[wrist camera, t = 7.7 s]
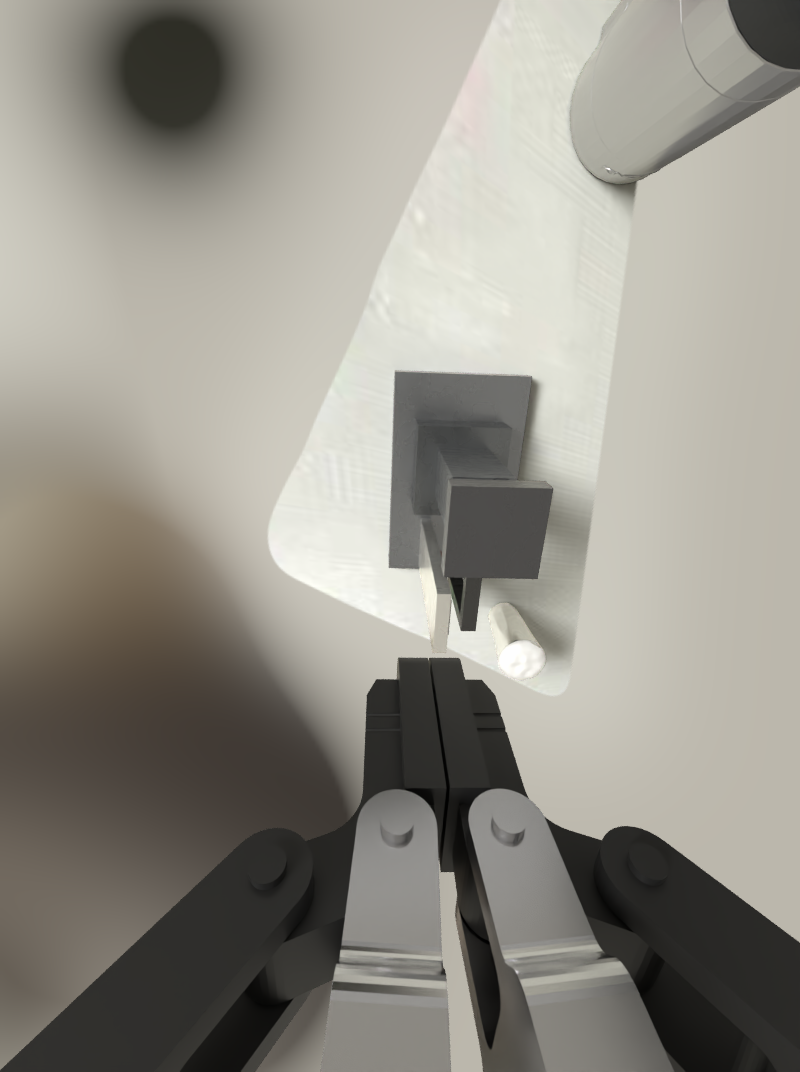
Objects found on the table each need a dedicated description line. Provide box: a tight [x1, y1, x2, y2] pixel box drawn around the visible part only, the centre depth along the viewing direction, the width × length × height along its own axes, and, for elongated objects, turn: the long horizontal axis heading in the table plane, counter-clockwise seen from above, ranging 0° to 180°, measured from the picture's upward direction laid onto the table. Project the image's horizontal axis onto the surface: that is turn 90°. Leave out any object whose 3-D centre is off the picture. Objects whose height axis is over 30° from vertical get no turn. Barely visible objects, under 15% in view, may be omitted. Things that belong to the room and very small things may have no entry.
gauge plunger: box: [441, 479, 553, 631], centre depth 35 cm, size 10×6×12 cm, turn 178°
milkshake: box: [488, 603, 546, 681], centre depth 48 cm, size 4×5×10 cm
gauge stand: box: [389, 370, 532, 653], centre depth 38 cm, size 19×12×16 cm, turn 178°
